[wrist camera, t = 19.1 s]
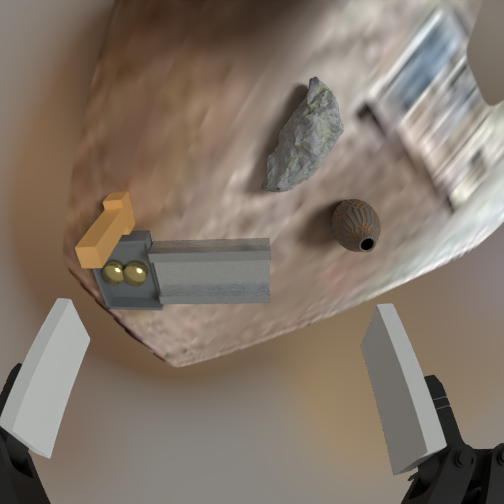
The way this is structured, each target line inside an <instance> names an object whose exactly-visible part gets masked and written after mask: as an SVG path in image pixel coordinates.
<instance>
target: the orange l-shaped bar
mask: <svg viewBox="0 0 504 504" xmlns="http://www.w3.org/2000/svg"><path fill="white" fill-rule="evenodd" d="M103 205H104V209H105V210H104V211H103V212H102V214H101V215H100V216H99V217H98V218H97V220H96V221H95V222H94V223H93V225H92V226H91V227H90V228H89V230H88V231H87V232H86V234H85V235H84V236H83V237H82V239H81V240H80V241H79V243H78V244H77V245H76V247H75V250H76V253H77V256H78V258H79V261H80V264H81V266H82V268H103V266H104V265H105V263H106V261H107V259H108V258H109V256H110V254H111V253H112V251H113V249H114V248H115V246H116V244H117V243H118V241H119V239H120V238H121V236H122V235H127V234H130V233H131V231H132V229H133V228H134V226H135V221H134V216H133V212H132V207H131V203H130V198H129V193H128V191H124V192H115V193H110V194H109V195H108V196H107V197H106V198H105V199H104V201H103Z"/></svg>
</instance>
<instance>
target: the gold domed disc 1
mask: <svg viewBox="0 0 504 504" xmlns="http://www.w3.org/2000/svg"><path fill="white" fill-rule="evenodd" d="M125 268H126V267H125V265H124V264H123V263H122V262H120V261H118V260H109V261H108V262H107V263H106V265H105V267H104V269H103V270H102V277H103V279H104V280H105V281H106V282H107V283H109V284H111V285H114V286H117V285H120V284H122V282H123V280H124V278H123V272H124V270H125Z"/></svg>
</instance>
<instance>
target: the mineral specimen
mask: <svg viewBox="0 0 504 504" xmlns="http://www.w3.org/2000/svg"><path fill="white" fill-rule="evenodd" d="M343 131H344V129H343V123H342V121H341V120H340V115H339V108H338V104H337V101H336V97H335V96H334V95H333V93H332V92H331V90H329V88H328V87H327V86H326V85H325V84H324V83H323V82H321V81H320V80H319V79H318V78H317V77H314V78H311V79H310V82H309V89H308V92H307V95H306V97H305V98H304V99H303V101H302V102H301V103H300V104H299V107H298V108H297V109H295V110H294V112H293V114H292V116H291V117H290V119H289V120H288V122H287V123H286V124H285V125H284V128H283V129H282V130H281V131H280V134H279V136H278V137H279V142H278V146H277V147H276V148H275V152H273V153H272V154H271V155H269V156H268V161H267V170H266V178H265V181H264V182H263V184H262V188H263V189H265V190H268V191H272V192H284V191H288V190H291V189H293V188H294V187H295V186H296V185H297V184H300V183H301V182H303V181H304V180H307V179H309V178H310V177H311V176H312V175H313V174H314V173H315V172H316V171H317V169H318V168H319V166H320V165H321V164H322V162H323V159H324V158H325V157H326V156H327V155H328V153H329V152H330V151H331V149H332V147H333V145H334V144H335V143H336V141H337V139H338V138H339V136H340V135H341V134H342V133H343Z"/></svg>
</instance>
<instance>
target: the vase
mask: <svg viewBox="0 0 504 504" xmlns="http://www.w3.org/2000/svg"><path fill="white" fill-rule="evenodd" d="M331 227H332V231H333V234H334V236H335V238H336V240H337V241H338V242H339V243H340V244H341V245H342V246H343V247H344V248H346V249H348V250H350V251H354V252H370V251H371V250H373V248H374V247H375V245H376V242H377V240H378V238H379V235H380V221H379V218H378V216H377V214H376V212H375V211H374V209H373V208H372V207H371V206H370V205H369V204H367V203H365V202H364V201H361V200H357V199H350V200H346V201H344V202H342V203H341V204H339V205H338V206H337V207H336V209H335V210H334V212H333V215H332V219H331Z"/></svg>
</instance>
